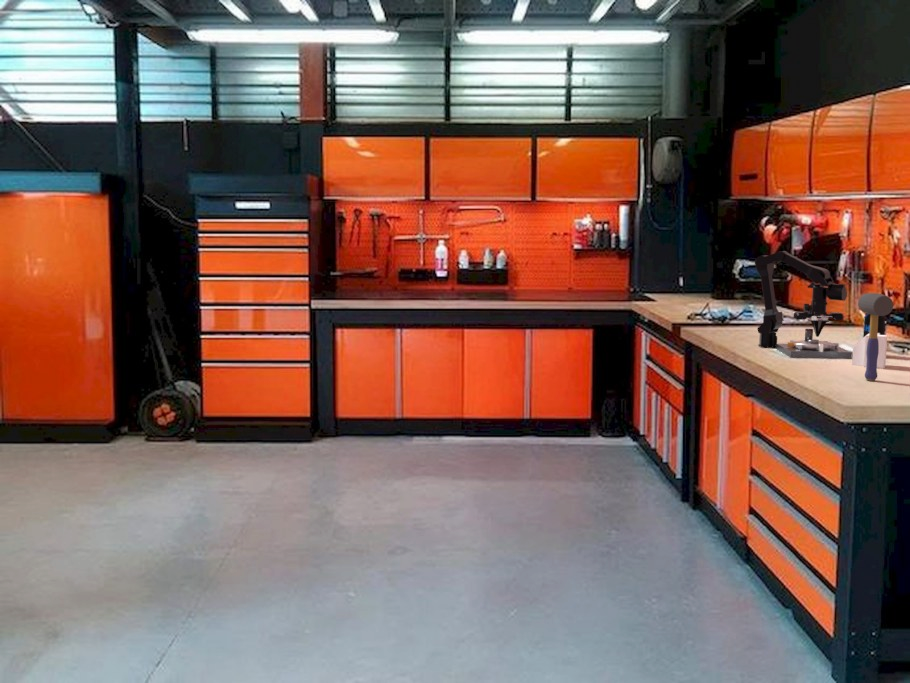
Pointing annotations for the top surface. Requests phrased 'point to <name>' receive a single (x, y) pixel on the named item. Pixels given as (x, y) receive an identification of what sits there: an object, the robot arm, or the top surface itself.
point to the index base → (813, 352)
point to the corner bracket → (861, 349)
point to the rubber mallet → (874, 327)
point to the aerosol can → (880, 324)
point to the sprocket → (812, 342)
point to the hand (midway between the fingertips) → (817, 336)
